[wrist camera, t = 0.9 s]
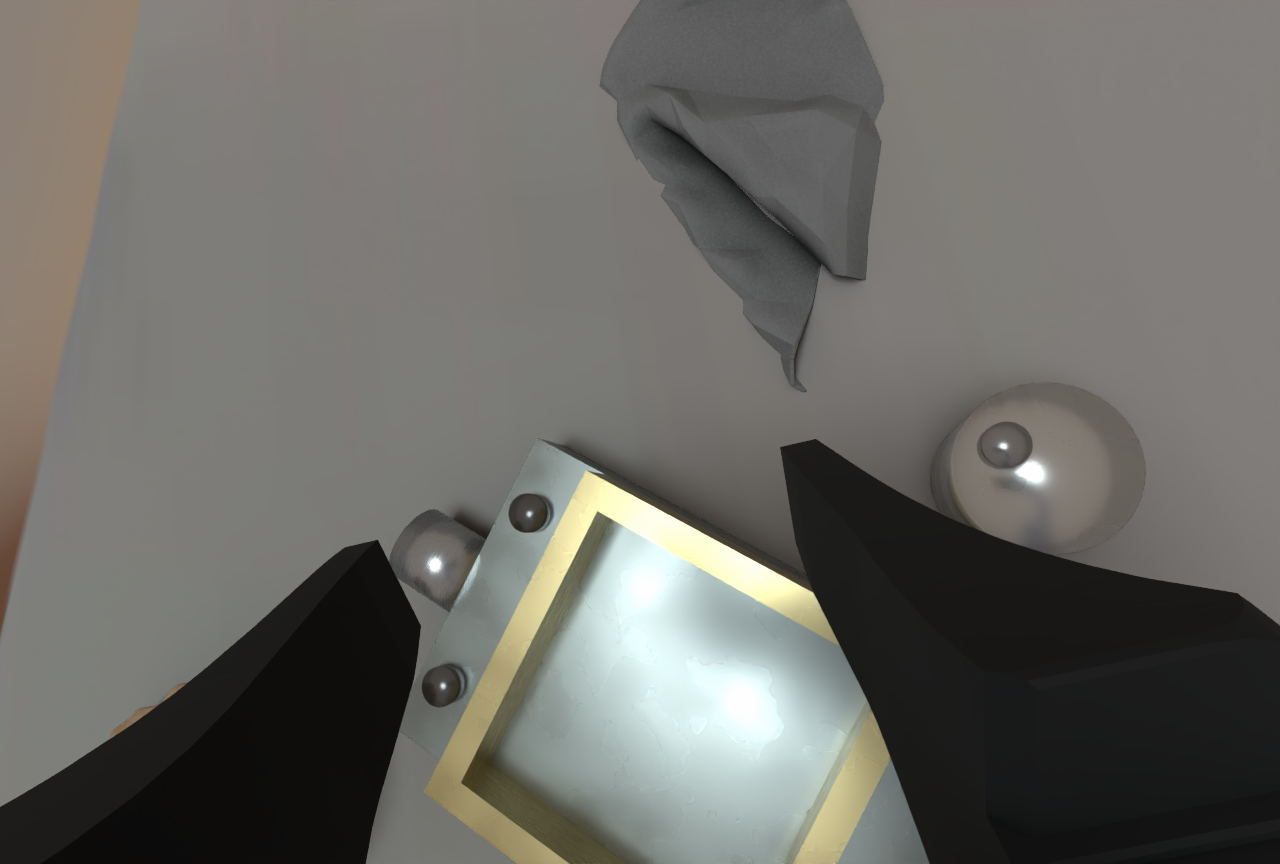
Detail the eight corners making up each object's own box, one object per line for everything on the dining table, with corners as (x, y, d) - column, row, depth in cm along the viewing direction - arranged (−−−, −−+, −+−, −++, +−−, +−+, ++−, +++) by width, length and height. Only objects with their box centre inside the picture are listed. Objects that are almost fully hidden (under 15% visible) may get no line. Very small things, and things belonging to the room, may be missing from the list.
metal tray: (1011, 684, 23) (1049, 720, 19) (846, 1008, 24) (847, 1116, 19) (503, 413, 30) (446, 394, 25) (375, 670, 30) (296, 694, 26)
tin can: (1103, 449, 24) (1192, 422, 18) (1040, 573, 24) (1107, 589, 18) (966, 392, 25) (1004, 349, 19) (906, 509, 25) (926, 503, 19)
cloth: (660, -197, 32) (646, -249, 30) (990, -229, 28) (1003, -292, 26) (544, 363, 30) (521, 351, 28) (881, 413, 26) (884, 403, 24)
